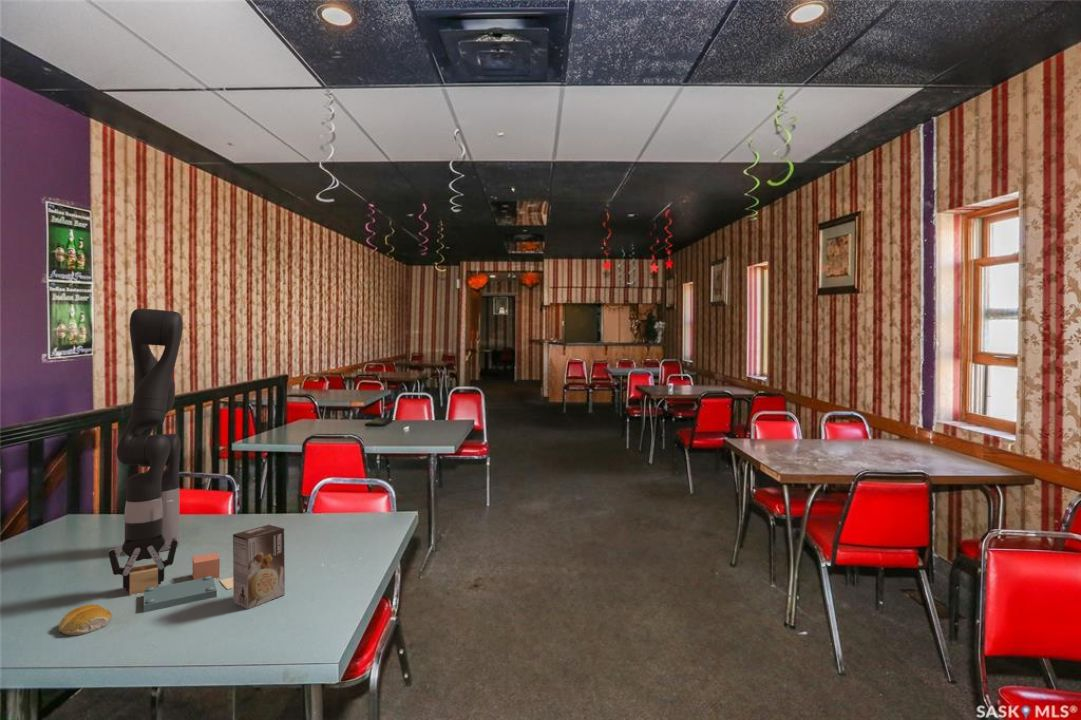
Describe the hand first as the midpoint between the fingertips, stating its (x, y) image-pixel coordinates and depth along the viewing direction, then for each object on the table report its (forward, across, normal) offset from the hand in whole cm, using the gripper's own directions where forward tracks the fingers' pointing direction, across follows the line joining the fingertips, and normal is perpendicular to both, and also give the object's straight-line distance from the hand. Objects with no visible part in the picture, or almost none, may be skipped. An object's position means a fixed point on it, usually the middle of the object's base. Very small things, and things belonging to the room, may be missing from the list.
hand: (143, 586), depth 135 cm
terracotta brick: (+1, -13, 0) cm, 13 cm away
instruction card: (+1, -21, +8) cm, 22 cm away
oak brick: (+1, 0, 0) cm, 1 cm away
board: (+1, -7, +10) cm, 12 cm away
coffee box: (+1, -22, +22) cm, 31 cm away
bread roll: (+1, +10, +16) cm, 18 cm away
